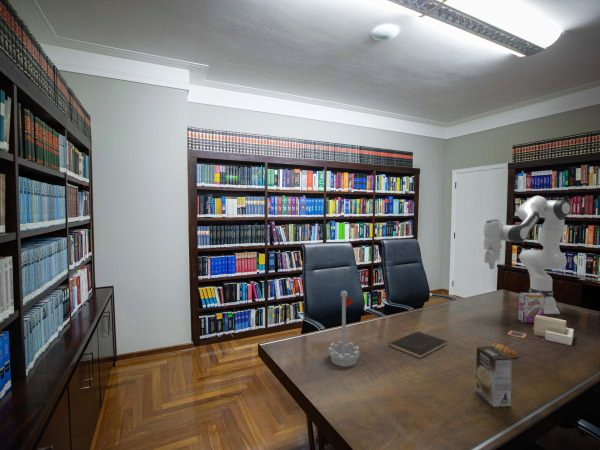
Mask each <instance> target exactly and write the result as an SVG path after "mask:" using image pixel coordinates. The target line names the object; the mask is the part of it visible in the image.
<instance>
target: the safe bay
mask: <svg viewBox="0 0 600 450" xmlns="http://www.w3.org/2000/svg"><path fill="white" fill-rule="evenodd" d="M574 331H575V329H574V328H569V327H566V335H564V334H559V333H554V332H550V331H546V334H545V337H544V338H545V340H546V341H551V342H555V343H559V344H563V345H568V346H572V345H573V339H574V333H575V332H574Z"/></svg>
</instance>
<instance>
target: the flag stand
mask: <svg viewBox="0 0 600 450" xmlns="http://www.w3.org/2000/svg"><path fill="white" fill-rule="evenodd" d="M340 297H341V331H342V332H341V341H337V343H334V342H331V343H330V344H329V347H328V354H329V356H330V361H331V362H332V363H333V364H334V365H336V366H340V367H352V366H355V365H356V363H357V362H358V361H357V360H358V357H360V347H359V345H356V346H355V343H354V342H348V343H346V341H347V340H346V339H347V338H346V336H347V335H346V334H347V333H346V330H347V329H346V327H347V326H346V325H347V324H346V323H347V322H346V321H347V320H346V319H347V317H346V314H347V312H346V311H347V309H346V308H347V307H348V306H350V305H351V304H352V303H353V302H354V300H352V299H350V298H348V292H347V290H342V291H341V292H340Z"/></svg>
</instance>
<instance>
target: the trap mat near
mask: <svg viewBox="0 0 600 450" xmlns="http://www.w3.org/2000/svg"><path fill="white" fill-rule="evenodd" d="M507 336H512V337H515V338H516V337H517V338H521V339H525V338H526V337H527V333H524V332H519V331H515V330H509V331H508V333H507Z"/></svg>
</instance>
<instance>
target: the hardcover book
mask: <svg viewBox="0 0 600 450" xmlns="http://www.w3.org/2000/svg"><path fill="white" fill-rule="evenodd" d="M447 343H448V341H447V340H445V339H443V338H439V337H436V336H433V335H430V334H427V333H424V332H421V331H419V330H418V331H415V332H412V333H410V334H408V335H405V336H403V337H400V338H398V339H395V340H393V341H391V342H389V347H392V348H394V349H397V350H399V351H402V352H405V353H407V354H409V355H412V356H414V357H417V358H419V359H421V358H423V357H425V356H427V355H429V354H431V353H432V352H435V351H436V350H437V349H440V348H441V347H444V346H446V345H447Z"/></svg>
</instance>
